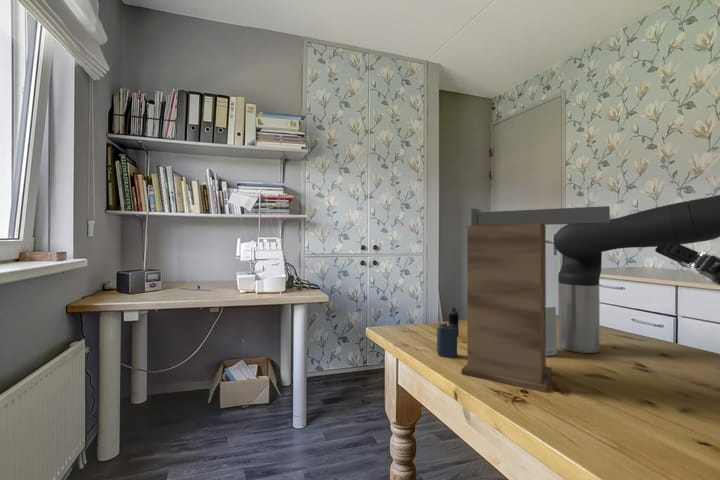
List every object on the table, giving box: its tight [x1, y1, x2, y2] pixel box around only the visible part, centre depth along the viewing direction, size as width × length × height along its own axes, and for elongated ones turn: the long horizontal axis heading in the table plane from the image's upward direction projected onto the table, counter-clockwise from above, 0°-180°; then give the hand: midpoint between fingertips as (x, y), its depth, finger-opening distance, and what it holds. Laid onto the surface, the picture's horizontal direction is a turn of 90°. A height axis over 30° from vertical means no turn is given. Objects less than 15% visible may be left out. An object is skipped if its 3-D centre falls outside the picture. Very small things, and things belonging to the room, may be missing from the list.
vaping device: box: [436, 307, 460, 358], centre depth 85 cm, size 3×5×12 cm, turn 79°
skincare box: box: [546, 305, 558, 357], centre depth 88 cm, size 6×4×12 cm
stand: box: [461, 223, 553, 393], centre depth 74 cm, size 12×16×32 cm
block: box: [470, 205, 611, 226], centre depth 71 cm, size 4×25×4 cm, turn 56°
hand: (662, 246), depth 60 cm, fingers open, 8 cm apart
